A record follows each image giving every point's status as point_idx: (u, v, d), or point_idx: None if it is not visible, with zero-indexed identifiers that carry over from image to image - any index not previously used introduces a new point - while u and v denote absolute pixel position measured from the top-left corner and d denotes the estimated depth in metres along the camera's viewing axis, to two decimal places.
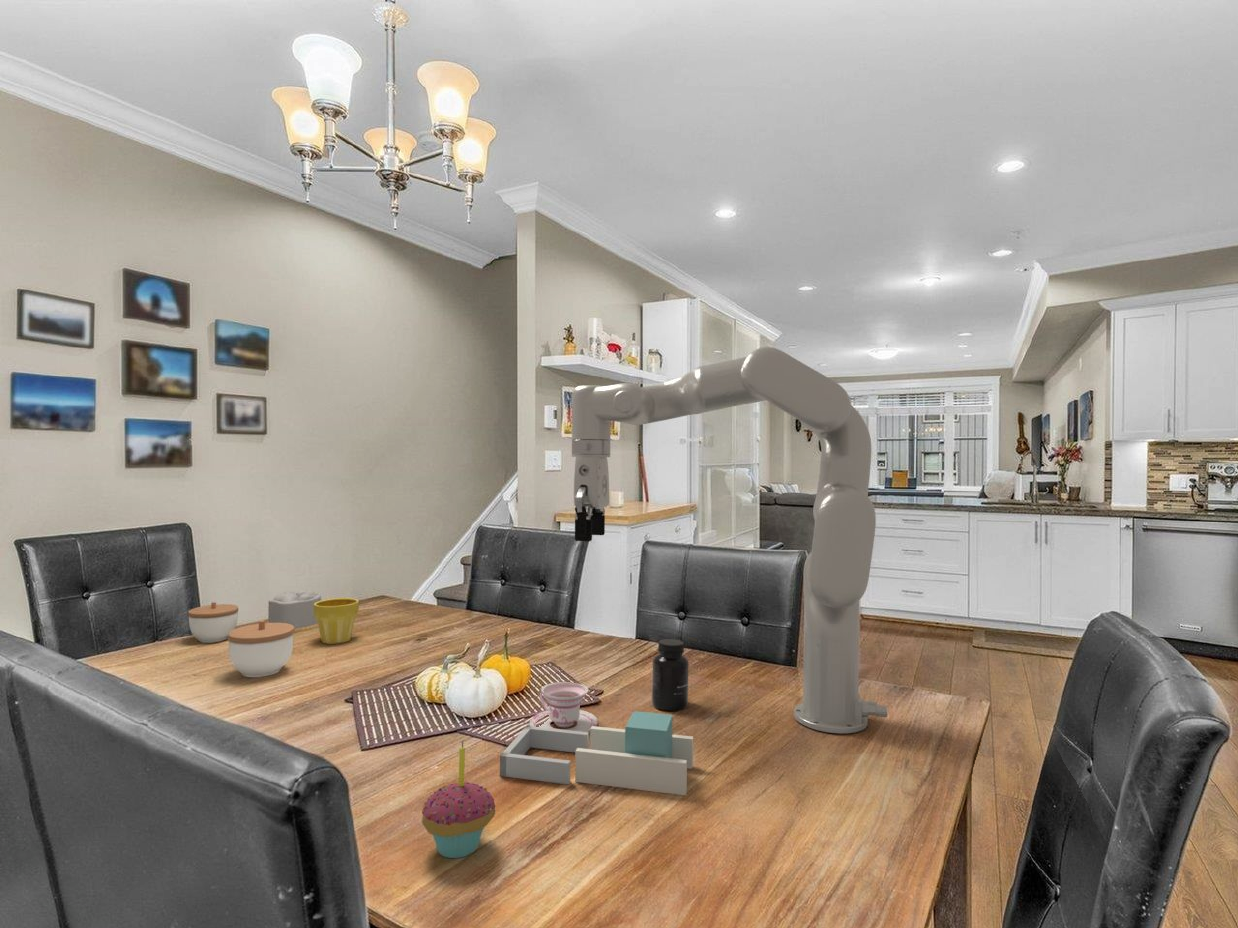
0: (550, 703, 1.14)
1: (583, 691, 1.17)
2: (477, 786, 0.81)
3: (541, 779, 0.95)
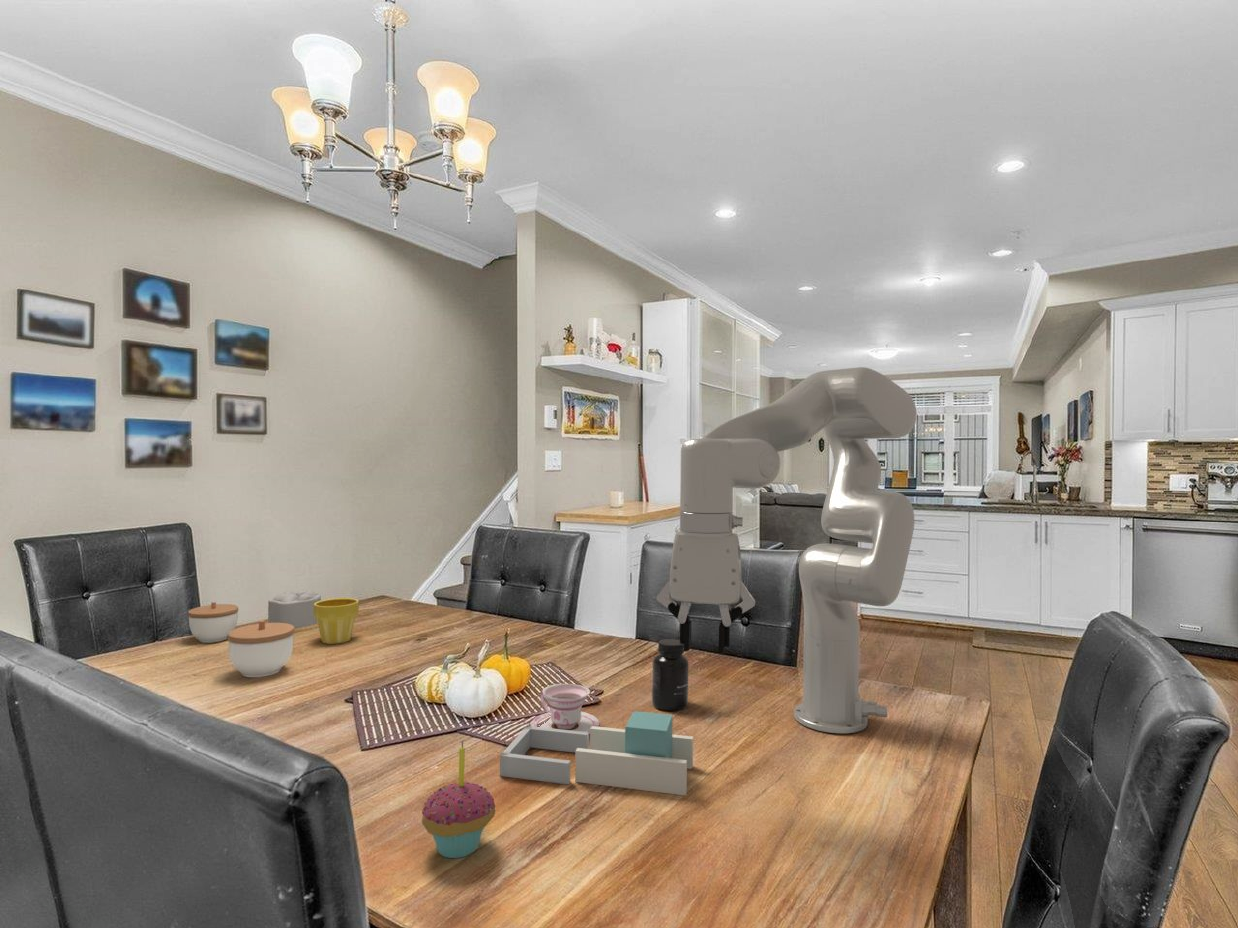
0: (551, 705, 1.13)
1: (584, 693, 1.16)
2: (477, 786, 0.81)
3: (541, 779, 0.95)
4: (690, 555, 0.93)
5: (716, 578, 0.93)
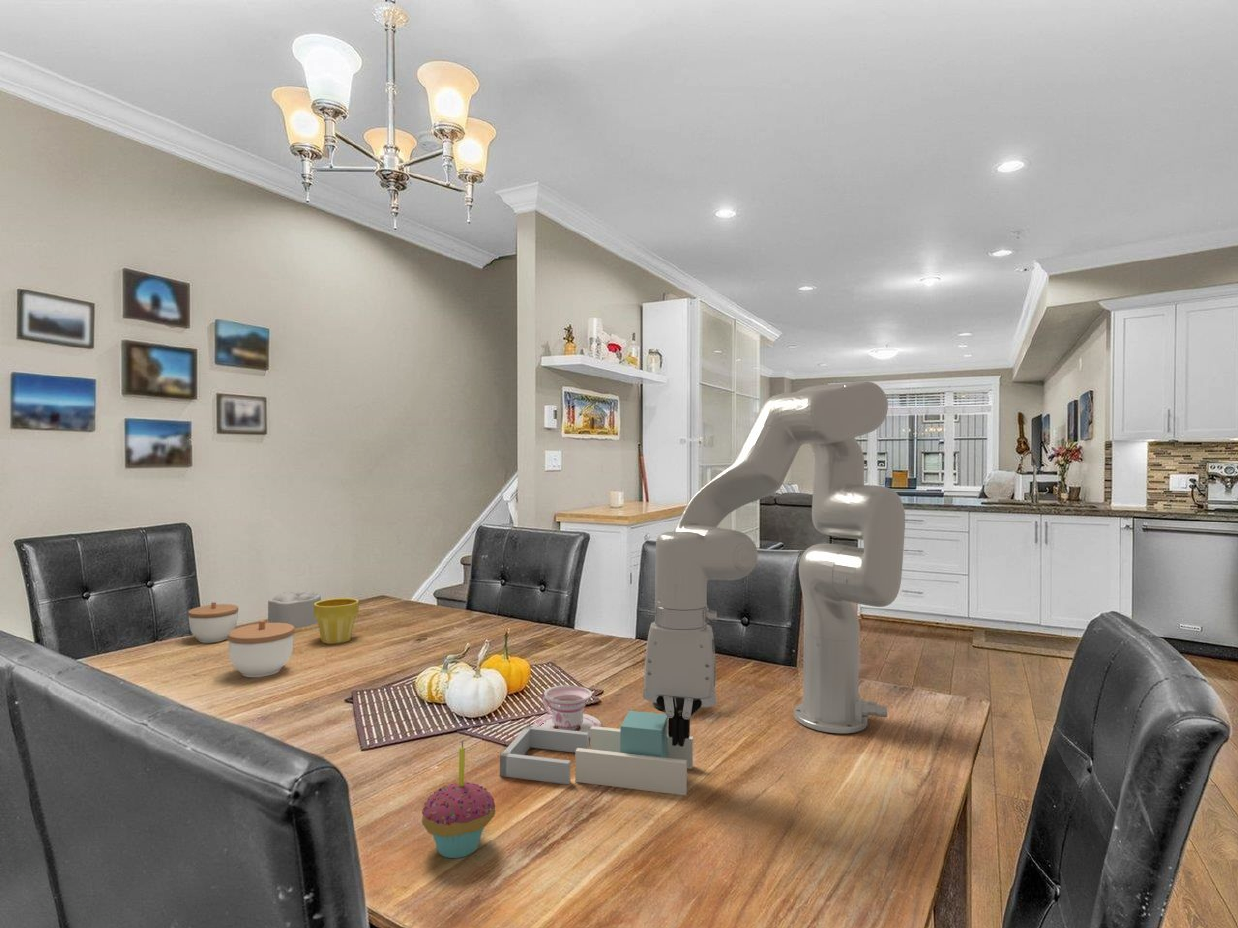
0: (553, 707, 1.12)
1: (587, 695, 1.16)
2: (477, 786, 0.81)
3: (541, 779, 0.95)
4: (664, 649, 0.94)
5: (690, 673, 0.93)
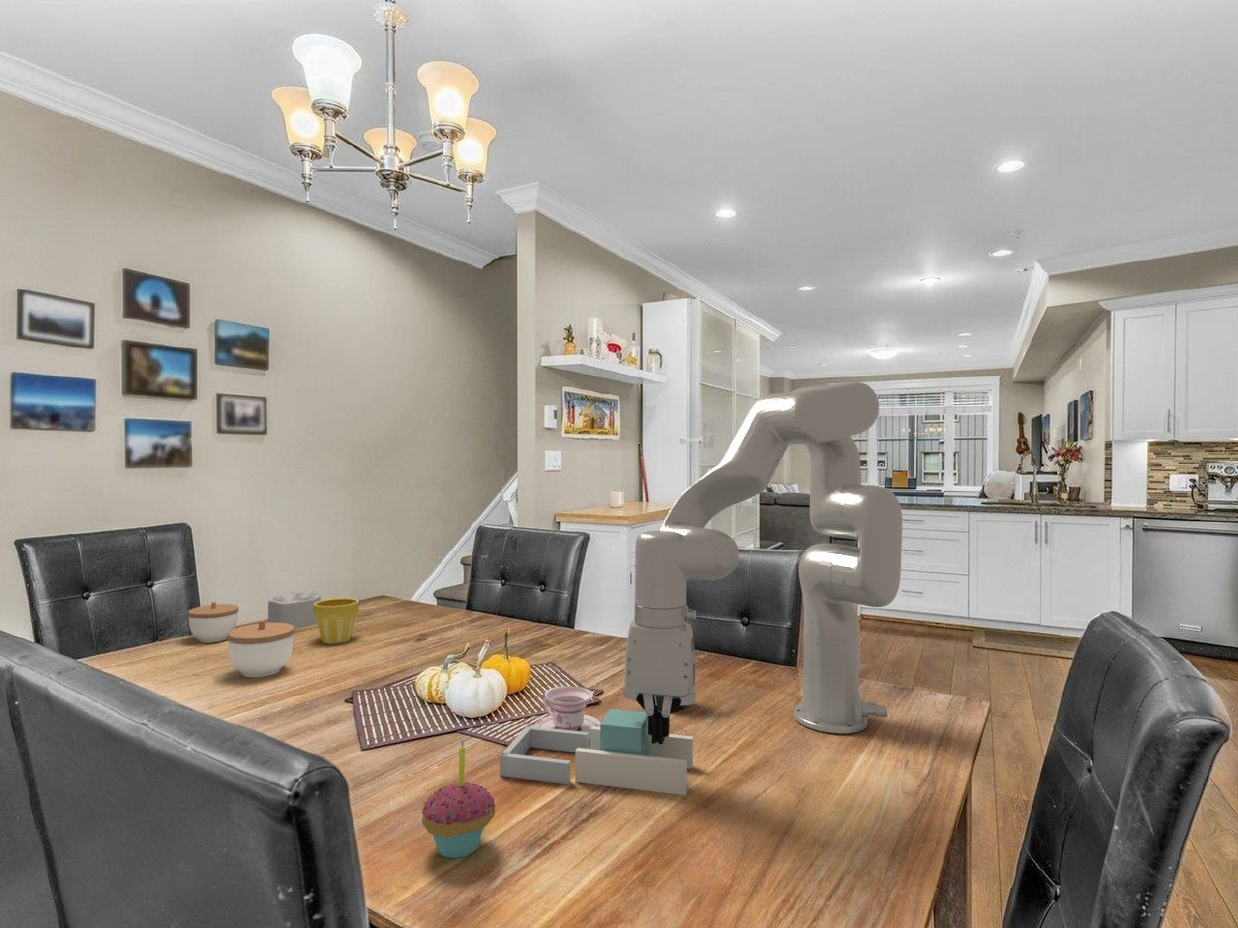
0: (554, 708, 1.12)
1: (587, 696, 1.15)
2: (477, 786, 0.81)
3: (541, 779, 0.95)
4: (643, 647, 0.95)
5: (669, 671, 0.94)
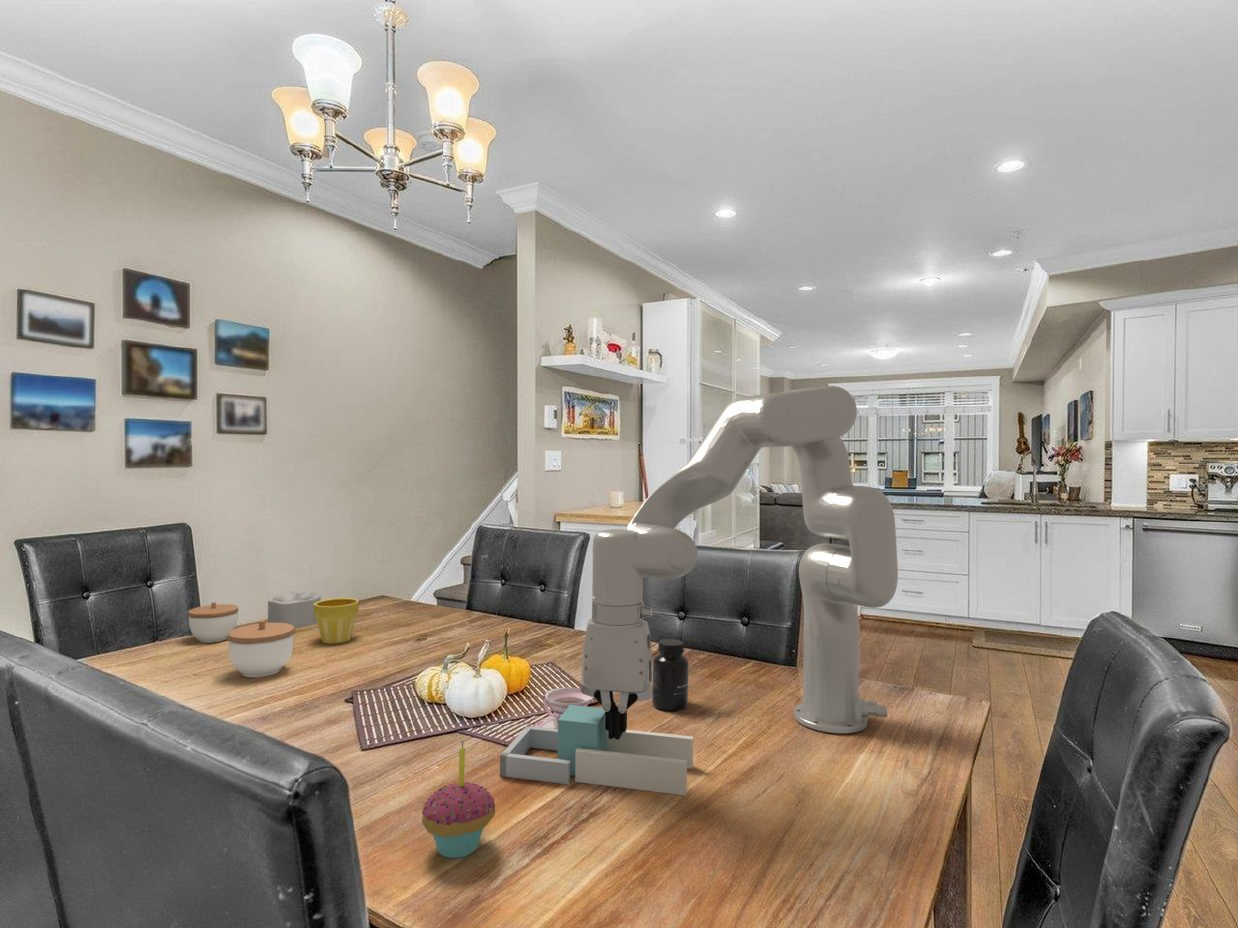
0: (554, 709, 1.11)
1: (588, 697, 1.14)
2: (477, 786, 0.81)
3: (541, 779, 0.95)
4: (600, 644, 0.96)
5: (625, 668, 0.95)
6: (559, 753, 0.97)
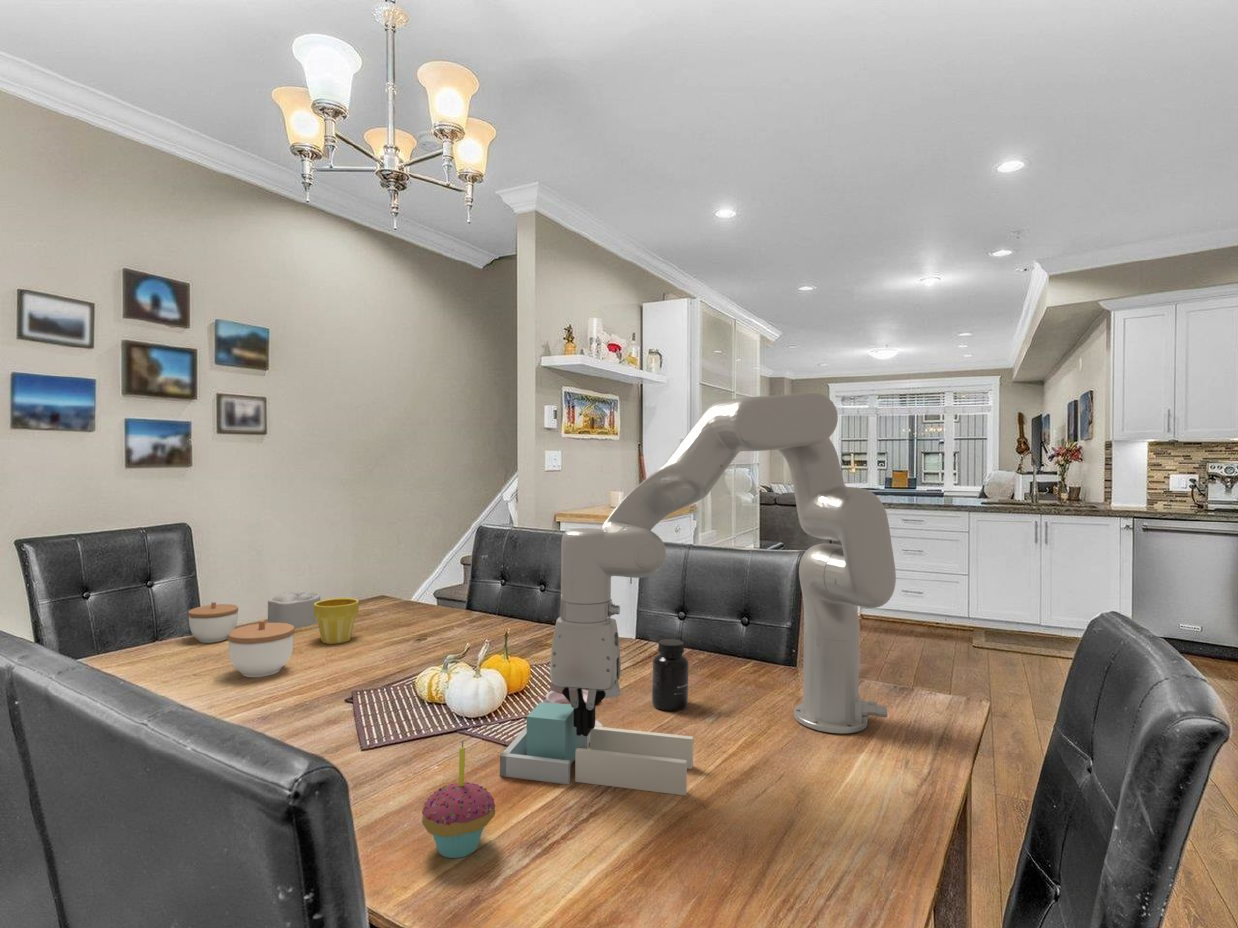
0: None
1: None
2: (477, 786, 0.81)
3: (541, 779, 0.95)
4: (568, 642, 0.97)
5: (592, 665, 0.97)
6: (528, 749, 0.98)
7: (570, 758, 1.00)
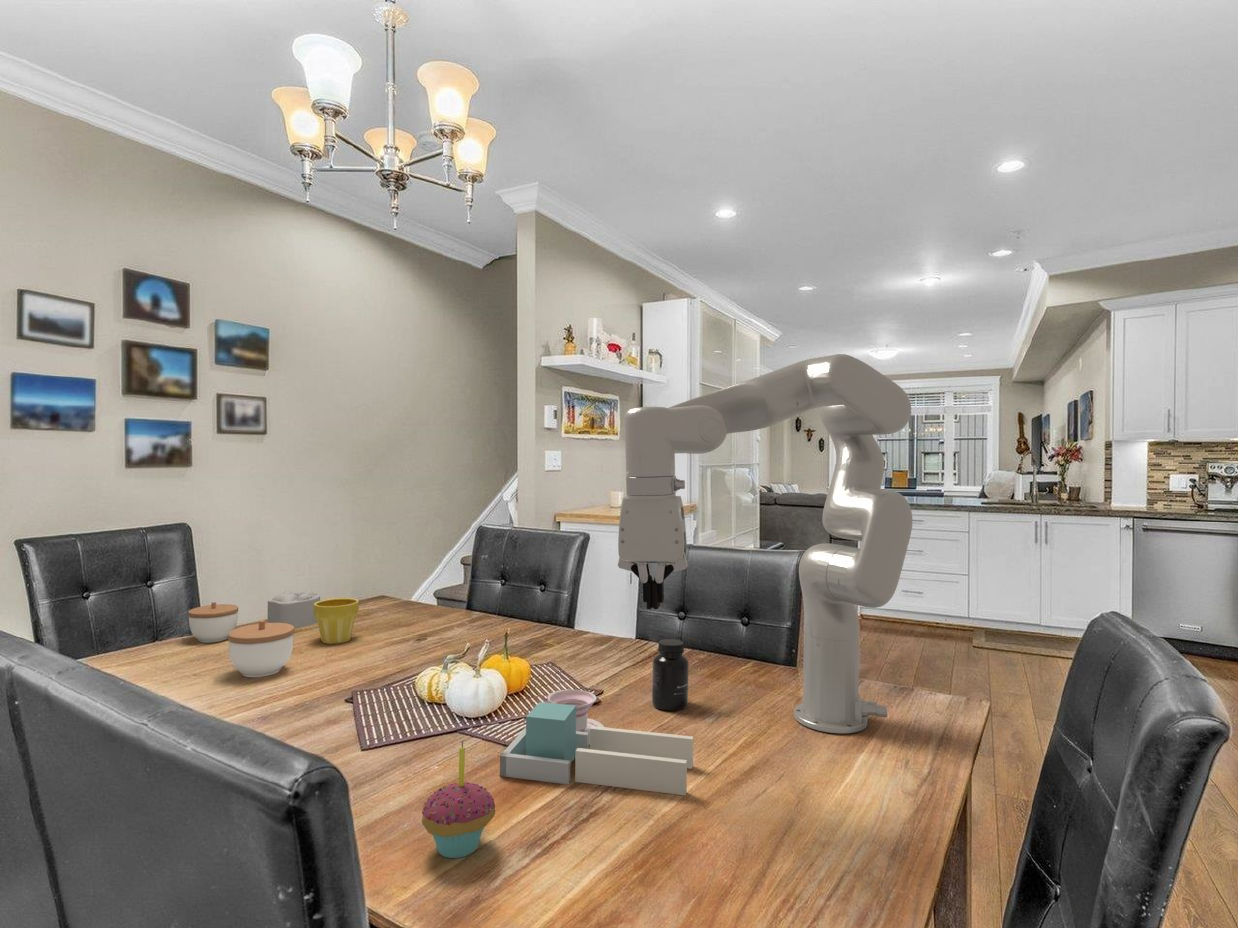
0: None
1: (591, 699, 1.13)
2: (477, 786, 0.81)
3: (541, 779, 0.95)
4: (635, 517, 0.99)
5: (661, 538, 0.98)
6: (527, 749, 0.98)
7: (569, 758, 1.00)
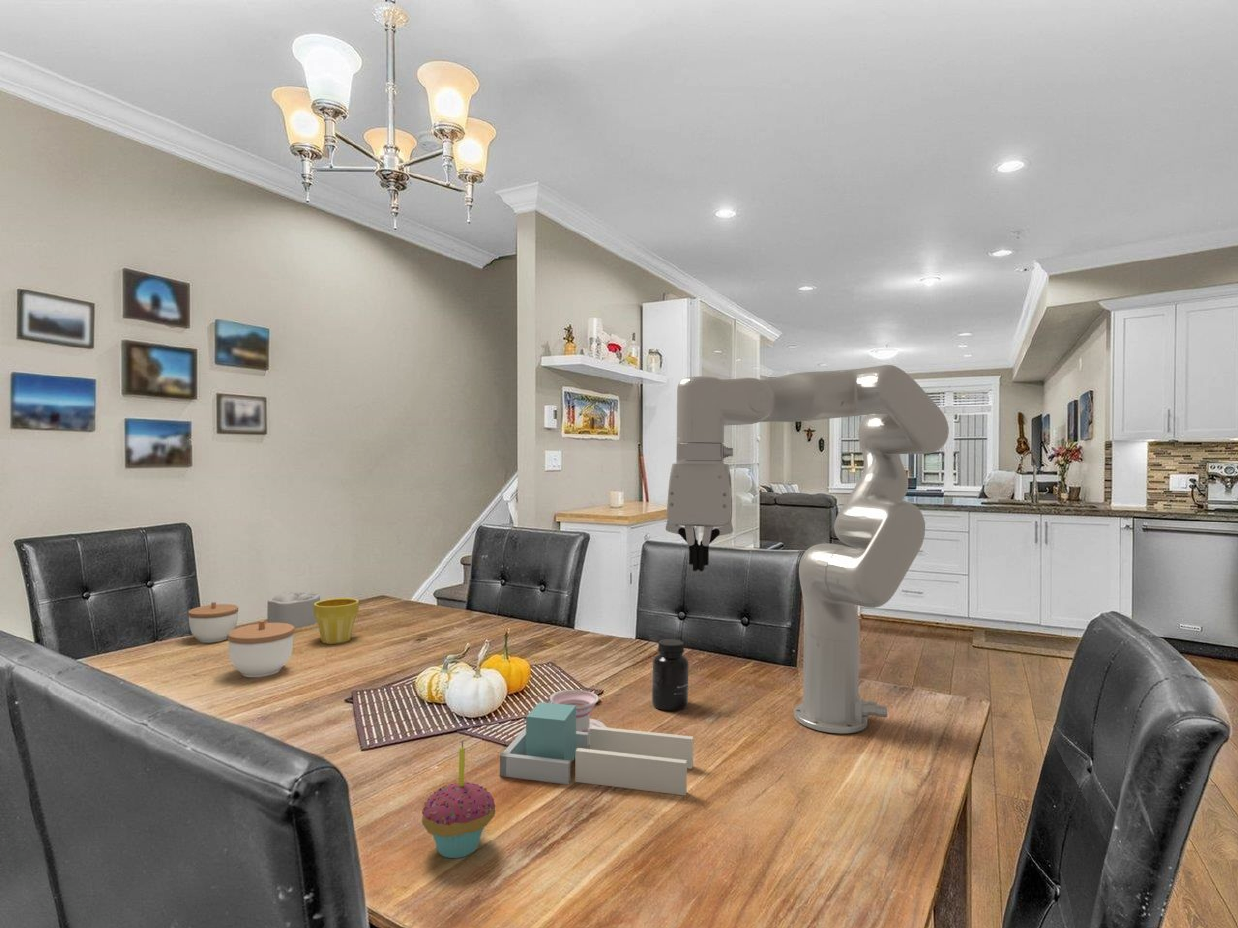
0: None
1: (593, 699, 1.13)
2: (477, 786, 0.81)
3: (541, 779, 0.95)
4: (685, 481, 1.03)
5: (709, 502, 1.03)
6: (527, 749, 0.98)
7: (569, 758, 1.00)
